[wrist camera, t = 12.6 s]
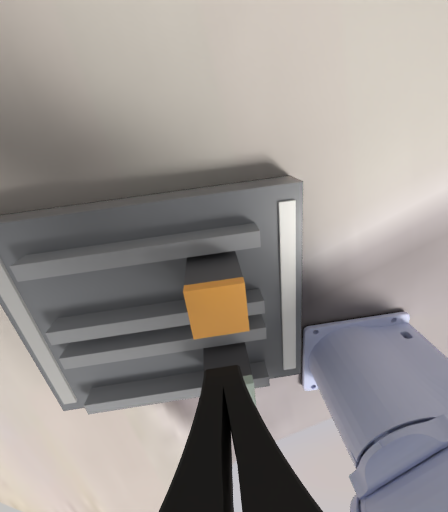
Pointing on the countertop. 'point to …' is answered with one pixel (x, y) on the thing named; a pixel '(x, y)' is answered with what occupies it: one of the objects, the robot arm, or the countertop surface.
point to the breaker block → (152, 291)
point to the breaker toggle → (215, 295)
